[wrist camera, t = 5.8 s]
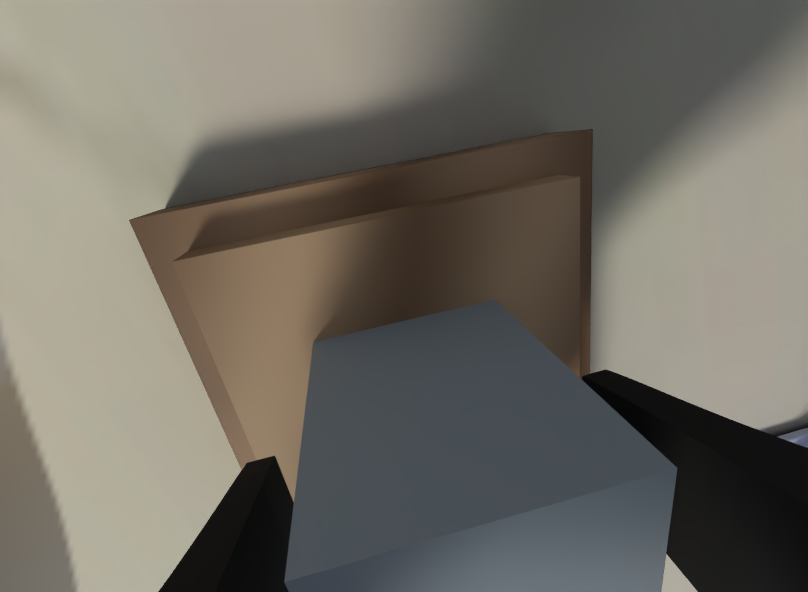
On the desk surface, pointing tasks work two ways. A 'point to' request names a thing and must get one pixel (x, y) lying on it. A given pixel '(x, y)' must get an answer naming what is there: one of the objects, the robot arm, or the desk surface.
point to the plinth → (371, 269)
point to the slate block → (469, 468)
